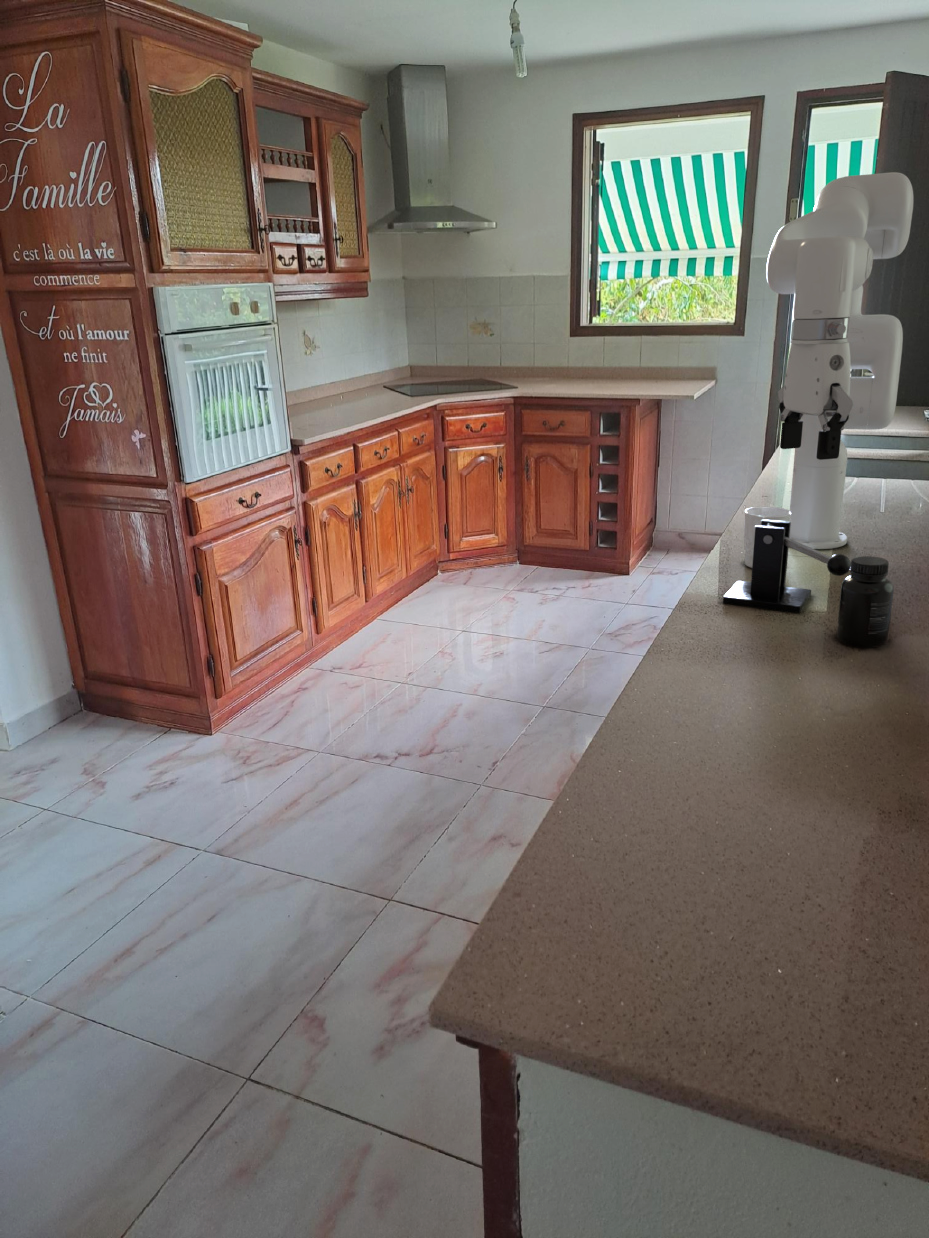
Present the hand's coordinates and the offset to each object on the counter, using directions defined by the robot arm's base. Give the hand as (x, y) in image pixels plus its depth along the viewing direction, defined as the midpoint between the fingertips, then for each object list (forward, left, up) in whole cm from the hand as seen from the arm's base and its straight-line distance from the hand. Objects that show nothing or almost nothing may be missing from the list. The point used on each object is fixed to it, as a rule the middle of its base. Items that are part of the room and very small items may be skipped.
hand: (808, 453), depth 130 cm
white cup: (-23, -10, -25) cm, 35 cm away
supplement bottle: (+8, +11, -25) cm, 29 cm away
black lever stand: (-4, -5, -25) cm, 26 cm away
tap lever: (-4, 0, -17) cm, 18 cm away
